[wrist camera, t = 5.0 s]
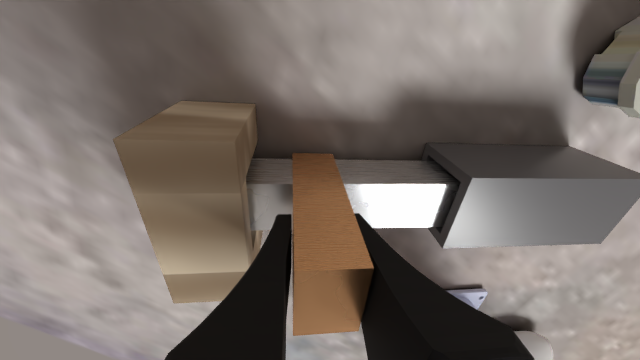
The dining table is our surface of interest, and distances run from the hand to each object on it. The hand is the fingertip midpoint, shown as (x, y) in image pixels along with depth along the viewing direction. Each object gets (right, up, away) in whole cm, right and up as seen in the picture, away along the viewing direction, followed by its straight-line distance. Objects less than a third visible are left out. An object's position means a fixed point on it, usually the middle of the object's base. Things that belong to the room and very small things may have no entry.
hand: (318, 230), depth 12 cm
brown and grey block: (+2, +3, +5) cm, 6 cm away
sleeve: (+12, +3, +7) cm, 14 cm away
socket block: (-6, +3, +4) cm, 8 cm away
